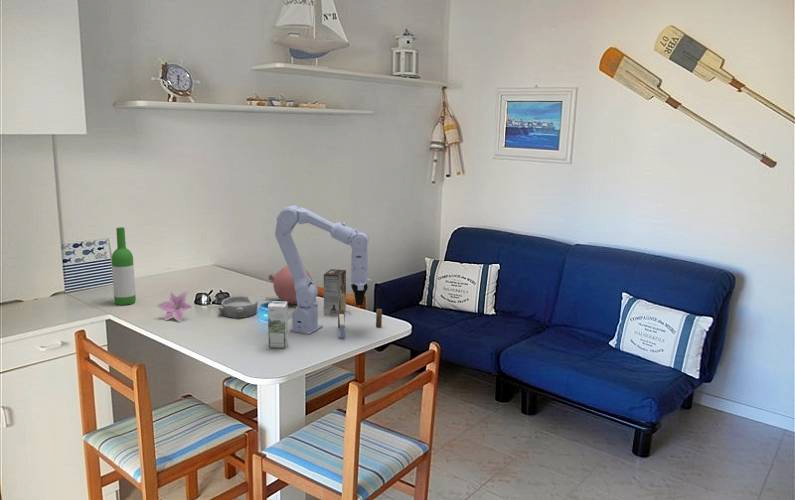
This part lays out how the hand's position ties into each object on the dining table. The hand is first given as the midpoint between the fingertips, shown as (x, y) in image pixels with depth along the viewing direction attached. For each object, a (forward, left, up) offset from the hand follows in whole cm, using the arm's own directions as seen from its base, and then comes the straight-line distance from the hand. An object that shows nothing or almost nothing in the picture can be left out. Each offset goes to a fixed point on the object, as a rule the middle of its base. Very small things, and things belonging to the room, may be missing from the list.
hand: (359, 304), depth 225 cm
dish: (-2, +49, -10) cm, 50 cm away
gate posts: (+3, +1, -10) cm, 10 cm away
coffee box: (+15, +17, -10) cm, 25 cm away
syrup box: (-25, +17, -10) cm, 32 cm away
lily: (-18, +66, -10) cm, 69 cm away
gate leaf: (-6, +4, -9) cm, 11 cm away
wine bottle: (-11, +96, -10) cm, 97 cm away
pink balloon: (+19, +40, -10) cm, 46 cm away
